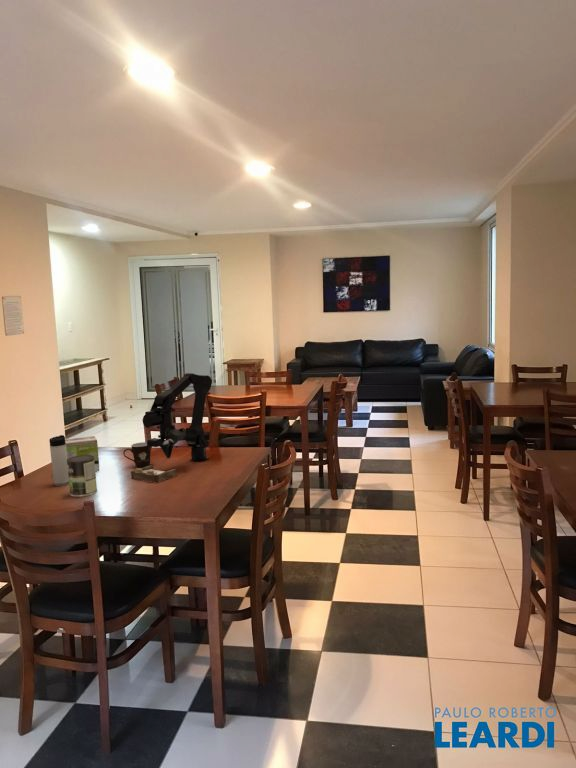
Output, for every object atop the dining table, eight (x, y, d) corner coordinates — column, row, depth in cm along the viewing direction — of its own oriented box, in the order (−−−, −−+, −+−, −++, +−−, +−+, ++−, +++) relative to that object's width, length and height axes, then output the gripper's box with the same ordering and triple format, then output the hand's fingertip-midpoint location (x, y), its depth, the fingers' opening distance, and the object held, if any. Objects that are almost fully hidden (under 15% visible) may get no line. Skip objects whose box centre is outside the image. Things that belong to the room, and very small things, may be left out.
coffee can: (72, 498, 236) (69, 462, 234) (68, 492, 244) (64, 457, 243) (100, 493, 240) (96, 458, 239) (94, 487, 249) (91, 453, 248)
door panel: (151, 475, 265) (150, 466, 264) (168, 478, 258) (168, 469, 258) (138, 479, 259) (137, 470, 259) (155, 482, 253) (155, 474, 252)
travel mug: (73, 481, 259) (68, 435, 257) (63, 486, 253) (58, 438, 251) (61, 481, 261) (56, 434, 259) (50, 485, 255) (45, 438, 253)
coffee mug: (155, 463, 283) (153, 441, 282) (149, 468, 275) (147, 446, 273) (130, 463, 284) (128, 442, 283) (123, 469, 276) (121, 447, 274)
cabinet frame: (151, 471, 268) (150, 462, 268) (176, 476, 259) (175, 465, 259) (131, 478, 259) (130, 468, 259) (156, 483, 250) (155, 472, 250)
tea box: (64, 477, 268) (61, 443, 266) (62, 471, 277) (59, 439, 275) (100, 471, 274) (97, 439, 272) (97, 466, 283) (94, 435, 281)
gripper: (163, 428, 255) (166, 465, 257) (194, 420, 270) (196, 454, 273) (144, 427, 261) (147, 462, 264) (175, 418, 277) (178, 452, 279)
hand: (168, 458), depth 269 cm, fingers closed
